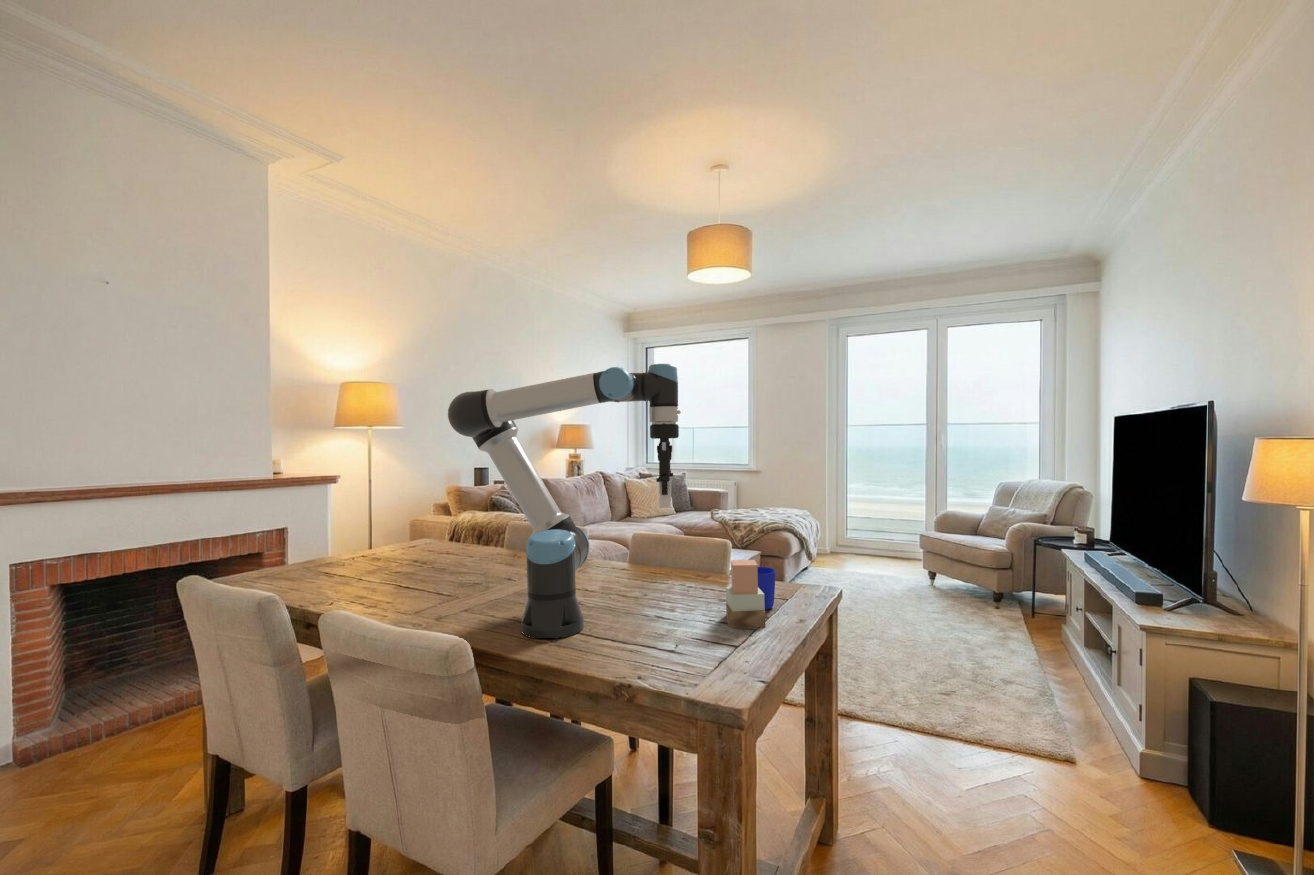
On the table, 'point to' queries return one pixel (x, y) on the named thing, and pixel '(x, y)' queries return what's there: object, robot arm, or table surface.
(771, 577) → the mug
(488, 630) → the table surface
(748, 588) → the clay block
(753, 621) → the riser lower
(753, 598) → the block
